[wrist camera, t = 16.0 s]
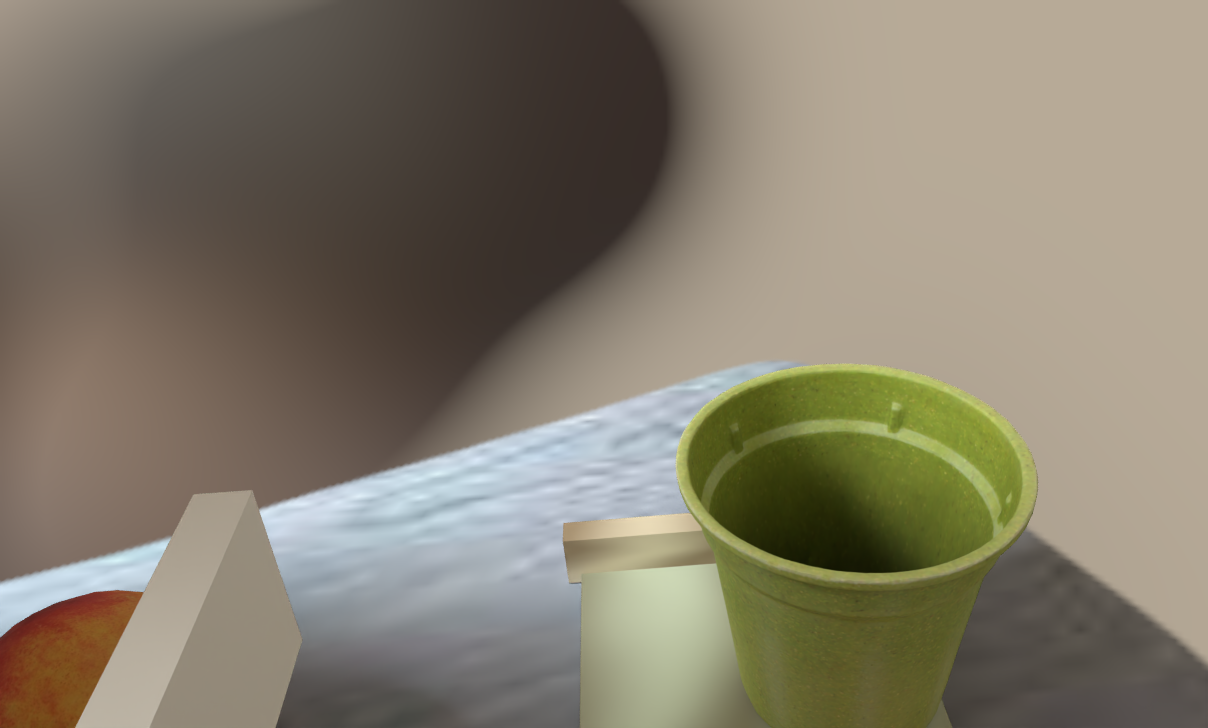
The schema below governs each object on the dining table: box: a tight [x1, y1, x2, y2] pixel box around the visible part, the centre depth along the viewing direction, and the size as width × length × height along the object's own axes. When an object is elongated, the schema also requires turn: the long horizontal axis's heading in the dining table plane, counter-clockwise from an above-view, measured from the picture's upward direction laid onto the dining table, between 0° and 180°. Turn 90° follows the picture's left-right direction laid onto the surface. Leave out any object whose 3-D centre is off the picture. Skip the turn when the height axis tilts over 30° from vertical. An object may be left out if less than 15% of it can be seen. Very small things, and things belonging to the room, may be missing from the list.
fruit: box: [0, 590, 143, 728], centre depth 28 cm, size 8×8×8 cm
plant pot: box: [676, 364, 1038, 728], centre depth 29 cm, size 9×9×9 cm
